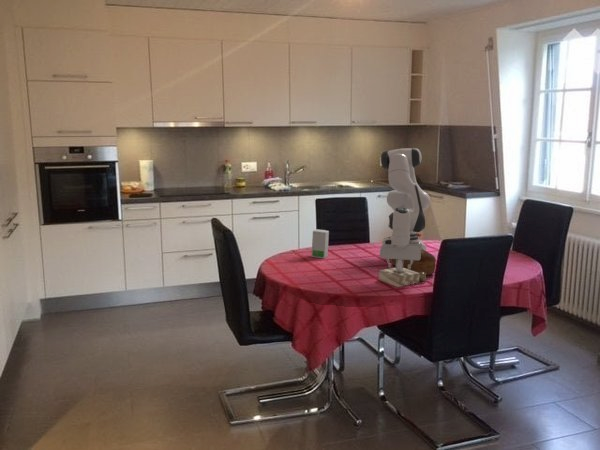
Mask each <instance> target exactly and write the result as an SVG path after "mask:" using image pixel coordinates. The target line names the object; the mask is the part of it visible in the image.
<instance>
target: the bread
mask: <svg viewBox="0 0 600 450" xmlns="http://www.w3.org/2000/svg"><path fill="white" fill-rule="evenodd" d="M420 252H421V259H420V260H419V261H418V260H413V263H412V265H411V269H408V264H410V263H411V262H410V260H403V268H405V269H408V270H411V271H414V272H417V273H419V272H425V273H426V276H431V275H433V274H434V273H435V270H436V263H437V262H436V261H437V259H436V257H435V255H433V254H432V253H430V252H428V251H427V250H426V251H425V250H423V249H421V251H420ZM391 263H392V265H393V266H395V267H396V259H391Z"/></svg>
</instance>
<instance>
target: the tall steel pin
mask: <svg viewBox="0 0 600 450" xmlns="http://www.w3.org/2000/svg"><path fill="white" fill-rule="evenodd" d="M395 268H396V273H398V274H401V273H403V260H402V259H396V266H395Z"/></svg>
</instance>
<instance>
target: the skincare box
mask: <svg viewBox="0 0 600 450" xmlns="http://www.w3.org/2000/svg"><path fill="white" fill-rule="evenodd" d="M329 235H330V231H329V230H326V229H318V228H316V229H313V230H312V239H311V240H312V243H311V244H312V245H311V257H312V258H316V259H317V258H318V259H325V258H327V257H328V253H329V238H330V237H329Z"/></svg>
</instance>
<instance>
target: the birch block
mask: <svg viewBox="0 0 600 450" xmlns="http://www.w3.org/2000/svg"><path fill="white" fill-rule="evenodd" d="M378 280H379V281H380V282H383V283H385V284H388V285H391V286H395V287H396V288H399V287H405V285H406V286H411V285H415V284H414V283H416V284H419V283H420V282H419V273H417V272H414V271H411V270H408V269H405V268H403V273H401V274H398V273H396V267H389V268H385V269H379V271H378ZM410 284H411V285H410Z"/></svg>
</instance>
